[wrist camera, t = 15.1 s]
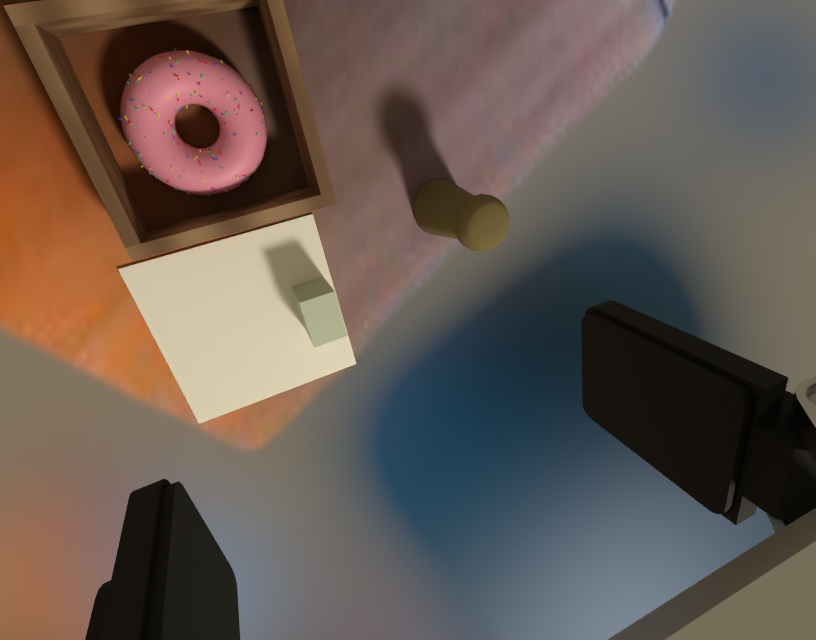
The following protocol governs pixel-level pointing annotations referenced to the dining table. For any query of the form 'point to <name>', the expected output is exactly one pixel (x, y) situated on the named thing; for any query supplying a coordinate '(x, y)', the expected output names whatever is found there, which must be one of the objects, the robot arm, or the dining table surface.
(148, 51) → the dining table surface
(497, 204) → the cork
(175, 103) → the doughnut
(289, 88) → the open wooden box
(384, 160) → the dining table surface
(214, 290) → the lid
